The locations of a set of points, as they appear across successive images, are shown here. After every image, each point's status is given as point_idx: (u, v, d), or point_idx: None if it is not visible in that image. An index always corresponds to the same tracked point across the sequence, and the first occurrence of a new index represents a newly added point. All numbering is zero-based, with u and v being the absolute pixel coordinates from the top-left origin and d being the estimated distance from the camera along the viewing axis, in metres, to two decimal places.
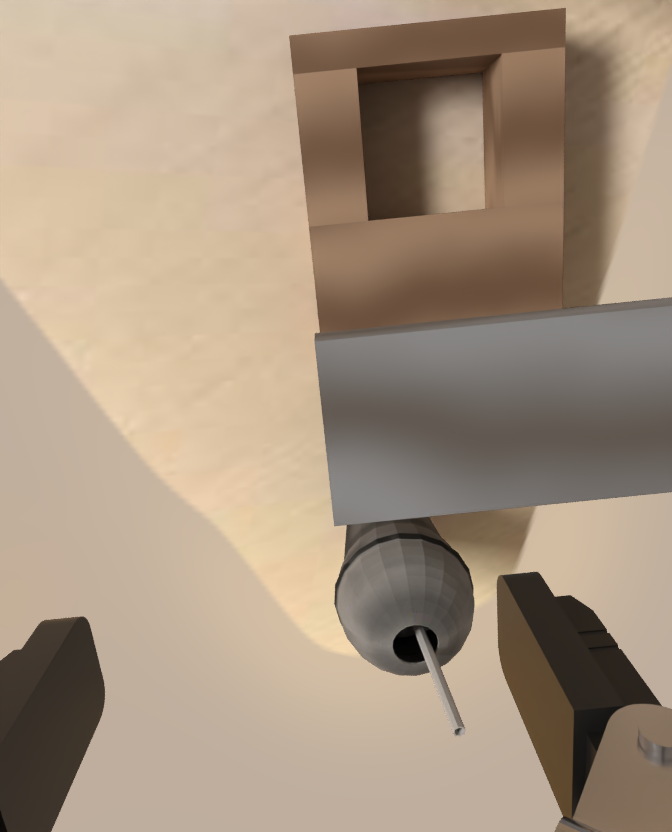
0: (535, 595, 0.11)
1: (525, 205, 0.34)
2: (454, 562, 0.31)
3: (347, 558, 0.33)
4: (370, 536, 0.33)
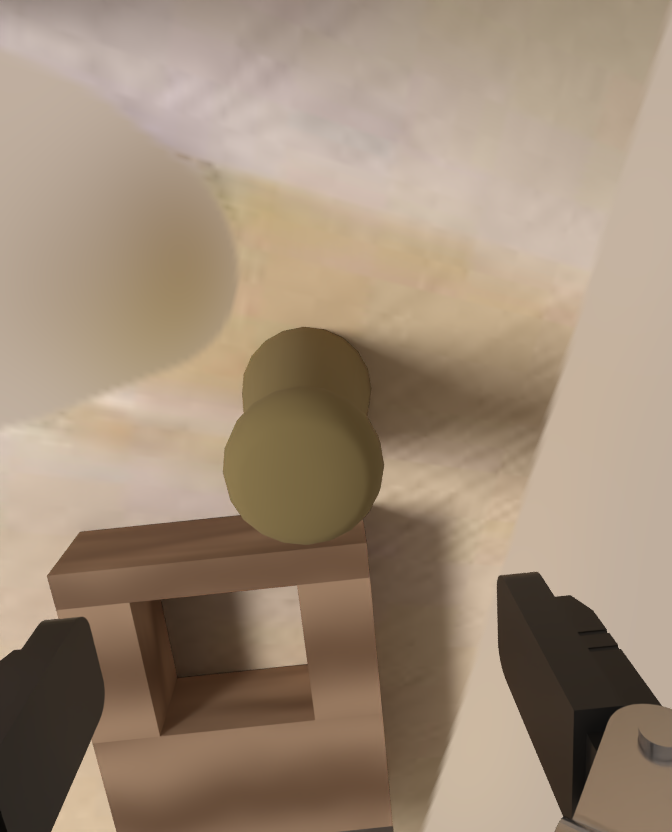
0: (535, 595, 0.11)
1: (339, 718, 0.30)
2: None
3: None
4: None
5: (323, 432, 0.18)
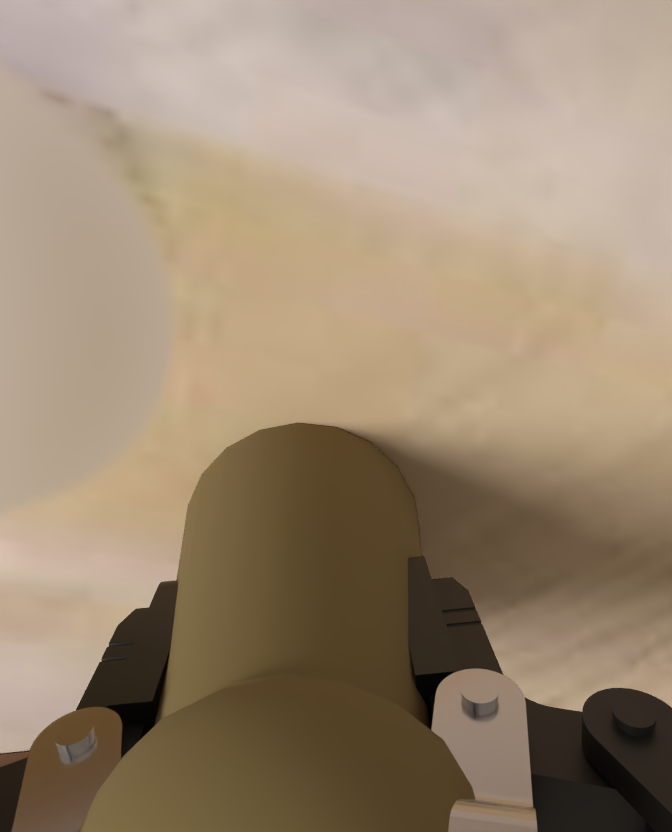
0: (414, 576, 0.12)
1: None
2: None
3: None
4: None
5: None
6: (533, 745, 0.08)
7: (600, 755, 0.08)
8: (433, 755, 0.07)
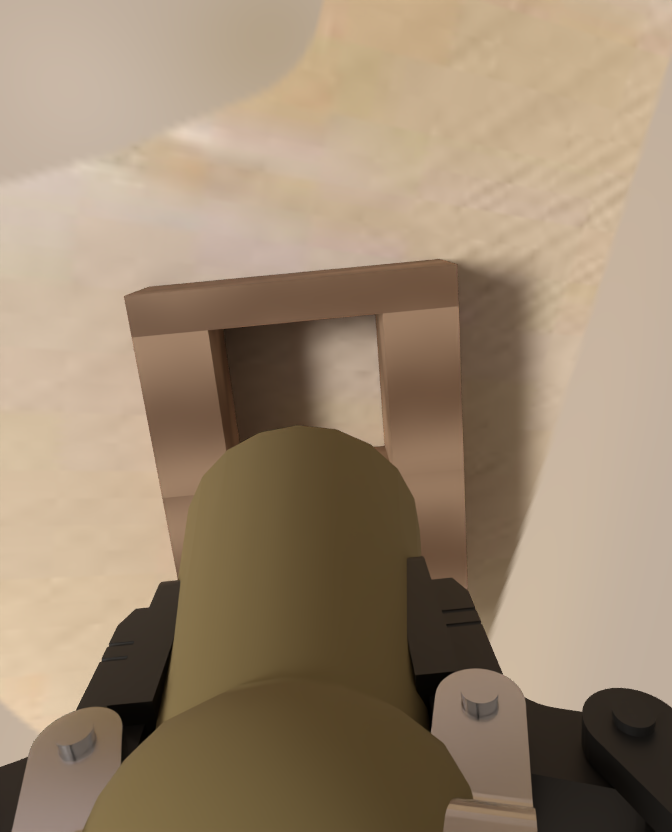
0: (414, 576, 0.12)
1: (418, 473, 0.29)
2: None
3: None
4: None
5: None
6: (533, 745, 0.08)
7: (600, 755, 0.08)
8: (433, 759, 0.07)
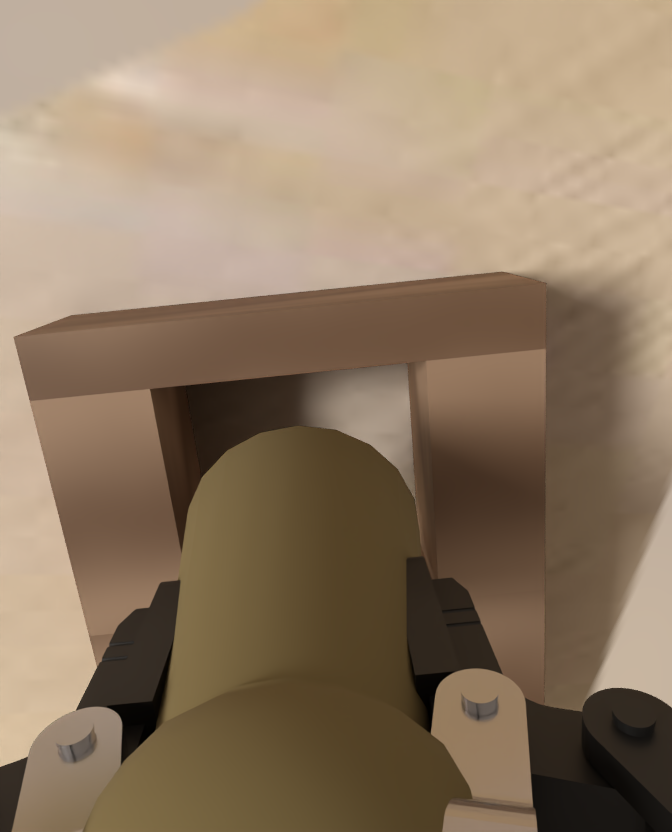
0: (413, 576, 0.12)
1: (476, 596, 0.19)
2: None
3: None
4: None
5: None
6: (533, 745, 0.08)
7: (600, 755, 0.08)
8: (433, 760, 0.07)
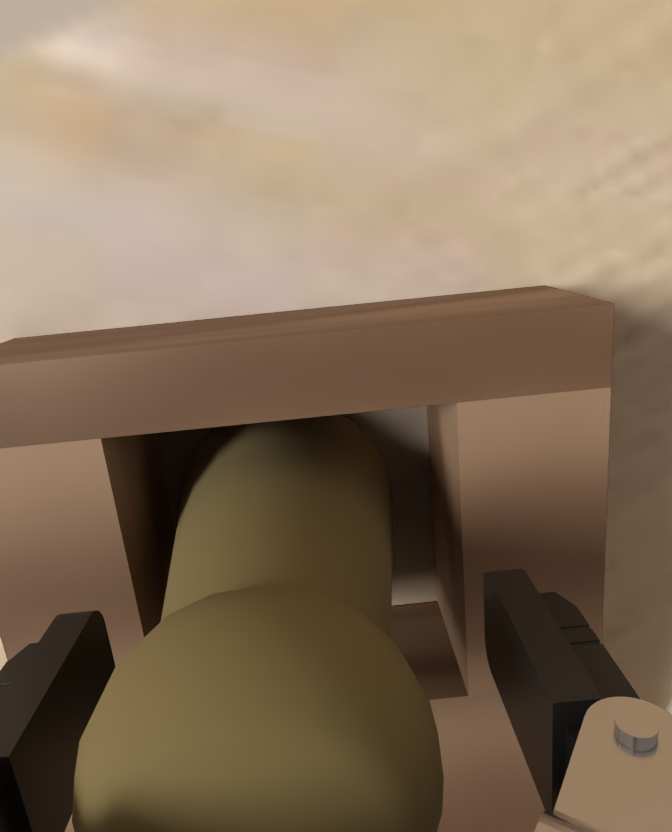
0: (519, 591, 0.11)
1: None
2: None
3: None
4: None
5: (309, 764, 0.07)
6: None
7: None
8: (382, 643, 0.09)
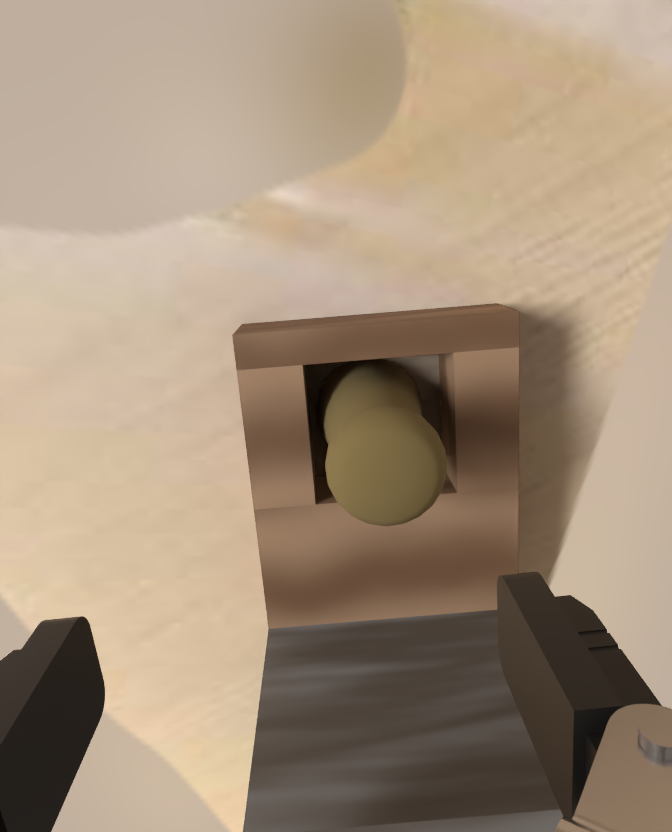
0: (535, 595, 0.11)
1: (479, 491, 0.33)
2: None
3: None
4: None
5: (408, 441, 0.25)
6: None
7: None
8: (427, 422, 0.26)
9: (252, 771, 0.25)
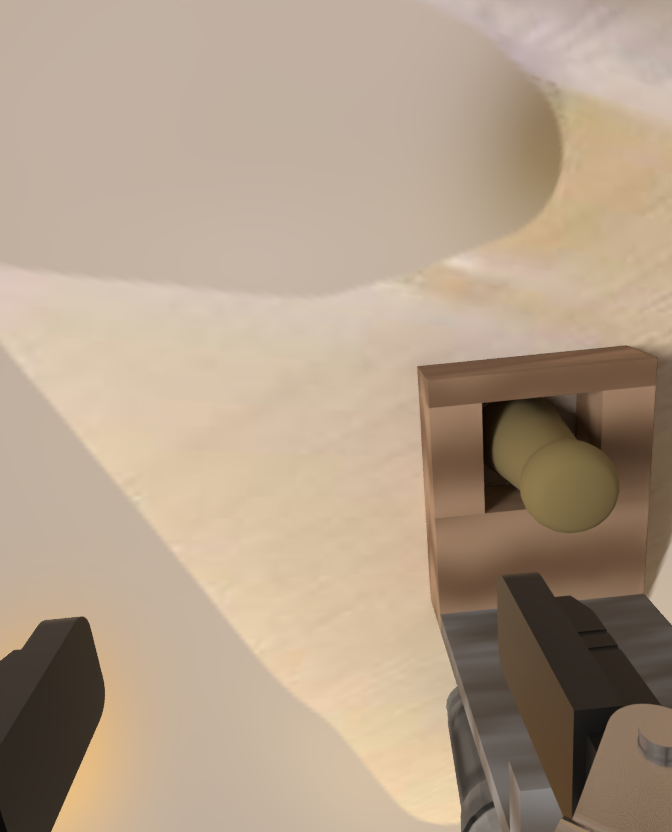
0: (535, 595, 0.11)
1: (617, 500, 0.40)
2: None
3: (471, 806, 0.39)
4: None
5: (596, 469, 0.32)
6: None
7: None
8: None
9: (476, 722, 0.33)
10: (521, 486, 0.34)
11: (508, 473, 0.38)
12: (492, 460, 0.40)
